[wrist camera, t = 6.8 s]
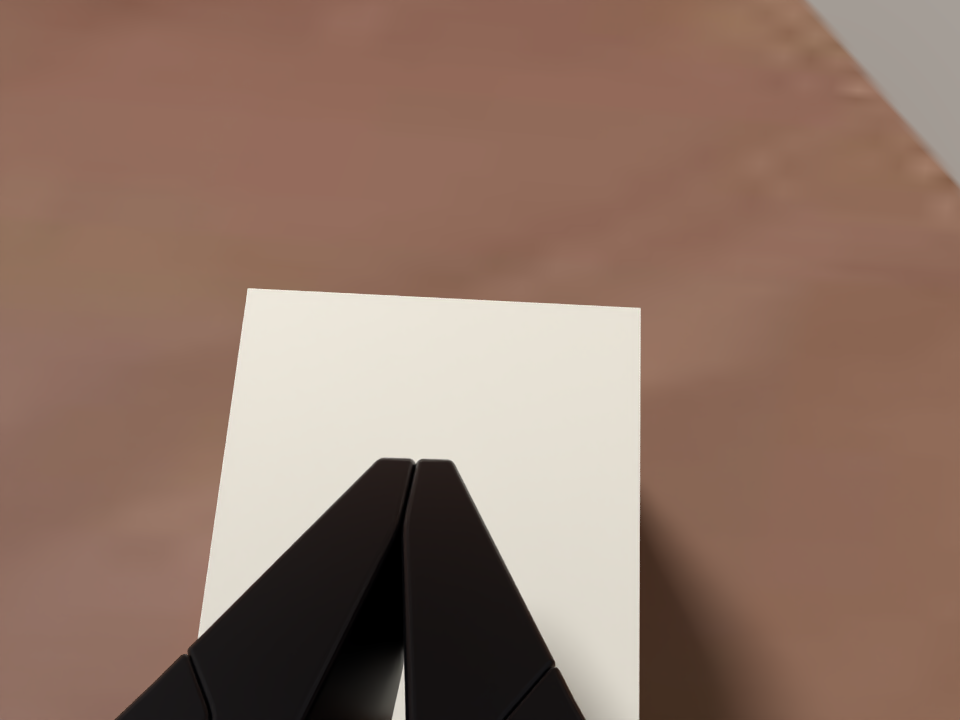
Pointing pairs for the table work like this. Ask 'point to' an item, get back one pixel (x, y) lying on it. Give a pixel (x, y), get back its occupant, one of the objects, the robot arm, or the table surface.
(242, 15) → the table surface
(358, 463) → the plain cream block
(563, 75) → the table surface
